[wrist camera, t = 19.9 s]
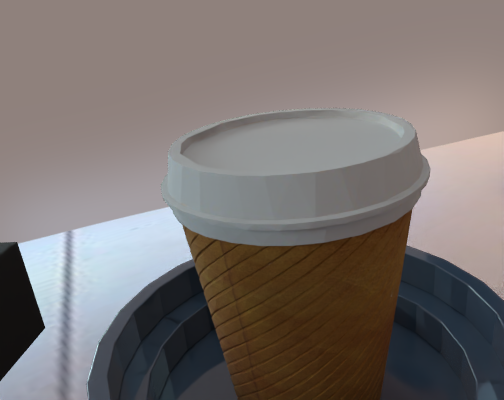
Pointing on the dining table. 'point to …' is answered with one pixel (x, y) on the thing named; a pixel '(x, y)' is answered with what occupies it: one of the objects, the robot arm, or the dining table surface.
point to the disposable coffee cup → (300, 243)
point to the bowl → (398, 360)
